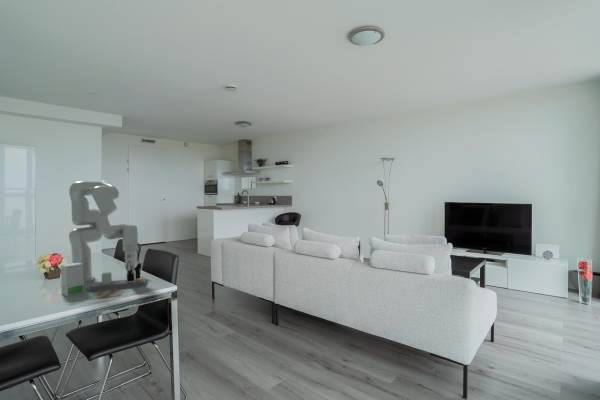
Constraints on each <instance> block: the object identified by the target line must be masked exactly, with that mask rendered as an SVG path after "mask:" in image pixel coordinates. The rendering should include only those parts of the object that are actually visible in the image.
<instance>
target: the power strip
mask: <svg viewBox="0 0 600 400" xmlns="http://www.w3.org/2000/svg"><path fill="white" fill-rule="evenodd" d="M146 283H147V278H146V277H140V278H139V279H136V282H127V279H119V280H112V284H105V285H102V281H96V282H93V283H92V284H91V285H90V286H89V292H99V291H100V292H101V291H111V290H120V289H128V288H129V289H130V288H139V287H145V285H146Z"/></svg>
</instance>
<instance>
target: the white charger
mask: <svg viewBox="0 0 600 400" xmlns="http://www.w3.org/2000/svg"><path fill="white" fill-rule="evenodd" d="M133 273H134V281H127V282H136V272H135V270H133Z"/></svg>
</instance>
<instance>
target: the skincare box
mask: <svg viewBox="0 0 600 400" xmlns="http://www.w3.org/2000/svg"><path fill="white" fill-rule="evenodd" d="M60 275H61V276H60V277H61V283H60V284H61V295H63V296H66V297H69V296H72V295H76V294H80V293H83V292H84V293H85V290H84V289H85V287H84V286H85V284H84V283H85V282H84V276H83V264H82V263H72V262H71V263H66V264H61V265H60Z"/></svg>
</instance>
